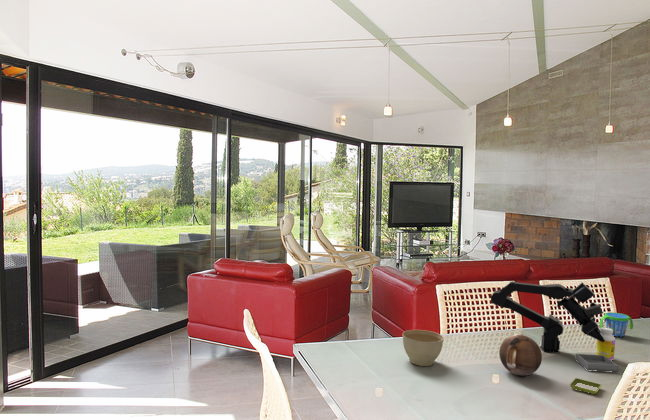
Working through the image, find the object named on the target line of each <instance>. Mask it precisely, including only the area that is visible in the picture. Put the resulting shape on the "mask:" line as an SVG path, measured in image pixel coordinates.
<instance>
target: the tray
mask: <svg viewBox="0 0 650 420" xmlns="http://www.w3.org/2000/svg"><path fill="white" fill-rule="evenodd" d="M575 360H577V361H578V362H579V363H580V364H581V365H583V366H584V367H585V368H586V369H587V370H597V371H612V372H617V373H618V371H619V370H618V368H619V365H618V364H617V363H615V361H614V360H613V361H611V360H610V359H608V358H607V357H606V356H604V355H596V354H589V353H575ZM578 362H577V363H578ZM579 363H578V364H579ZM580 364H579V365H580ZM581 365H580V366H581ZM585 368H584V369H585ZM586 369H585V370H586ZM587 370H586V371H587Z"/></svg>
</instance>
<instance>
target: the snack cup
mask: <svg viewBox="0 0 650 420" xmlns="http://www.w3.org/2000/svg"><path fill="white" fill-rule="evenodd" d="M599 320H600V321H599V329H600V328H604V324H603V323H604V320H605V328H609V329H612V330H613V334H612V335H614V336H620V337H619V338H623V337H622V336H624V337H625V336H626V332H627V328H629V330H633V329H634V321H633V319H632V317H630V316H629V315H628V314H624V313H619V312H605V313H604V315H603V316H602V317H601V318H600V319H599ZM628 323H629V325H628Z"/></svg>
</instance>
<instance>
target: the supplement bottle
mask: <svg viewBox="0 0 650 420" xmlns="http://www.w3.org/2000/svg"><path fill="white" fill-rule="evenodd" d="M599 330H600V332H601V333H600V334H601V335H602V337H603V338H604V340H605V341H604V342H601V341H599V340H597V339H596V348H595V349H596V350H595V355H604V356H606V357H607V358H608V359H610V360H611V361H612V360H613V361H614V360H615V351H616V349H615V348H616V337H614V336H613V335H612V334H613V330H612V329H609V328H606V327H603V328H600V327H599Z"/></svg>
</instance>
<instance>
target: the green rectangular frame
mask: <svg viewBox="0 0 650 420" xmlns="http://www.w3.org/2000/svg"><path fill="white" fill-rule="evenodd" d="M577 383H582V384H585V385H589V386H593V387H597V388H598V389H597V390H596V391H593V390H589V389H585V388H581V387H578V386H575V385H576V384H577ZM569 385H570V387H571V388H572V389H573V390H574V389H577V390H576V391H578V390H581V391H580V392H582V391H585V392H589V393H592V394H591V395H593V394H594V395H596V394H597V393H598V392H599V390H600V389H601V387H602V384H601V383H598V382H593V381H589V380H585V379H582V378H577V377H576V378H574V379H573V380H572V381H571V382H570V384H569ZM585 392H584V393H585ZM589 393H588V394H589Z"/></svg>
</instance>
